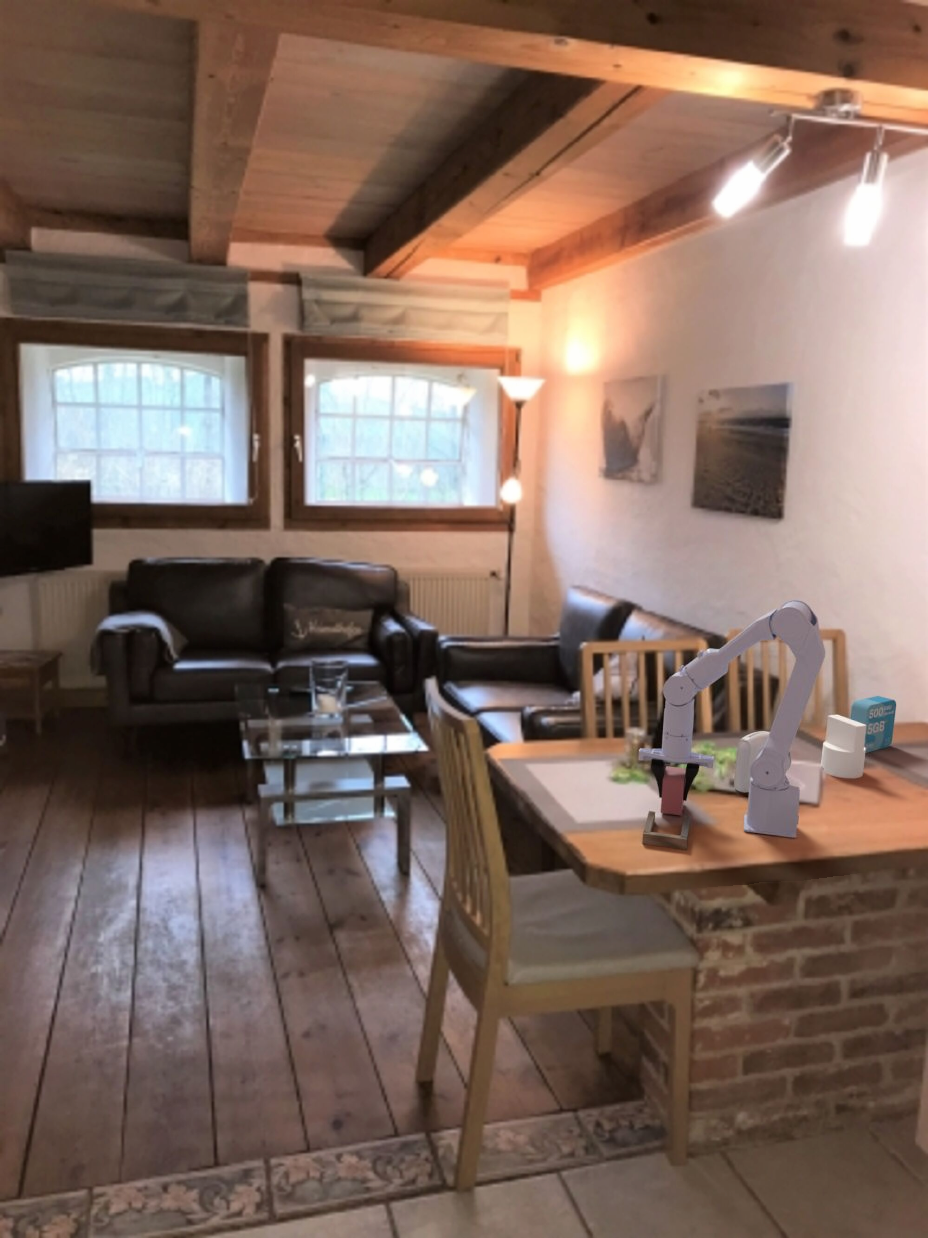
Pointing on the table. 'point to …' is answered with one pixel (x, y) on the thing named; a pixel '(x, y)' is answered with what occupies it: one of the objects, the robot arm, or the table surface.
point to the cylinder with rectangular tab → (844, 747)
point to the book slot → (665, 839)
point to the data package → (875, 720)
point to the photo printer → (747, 758)
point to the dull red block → (673, 790)
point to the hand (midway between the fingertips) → (673, 797)
